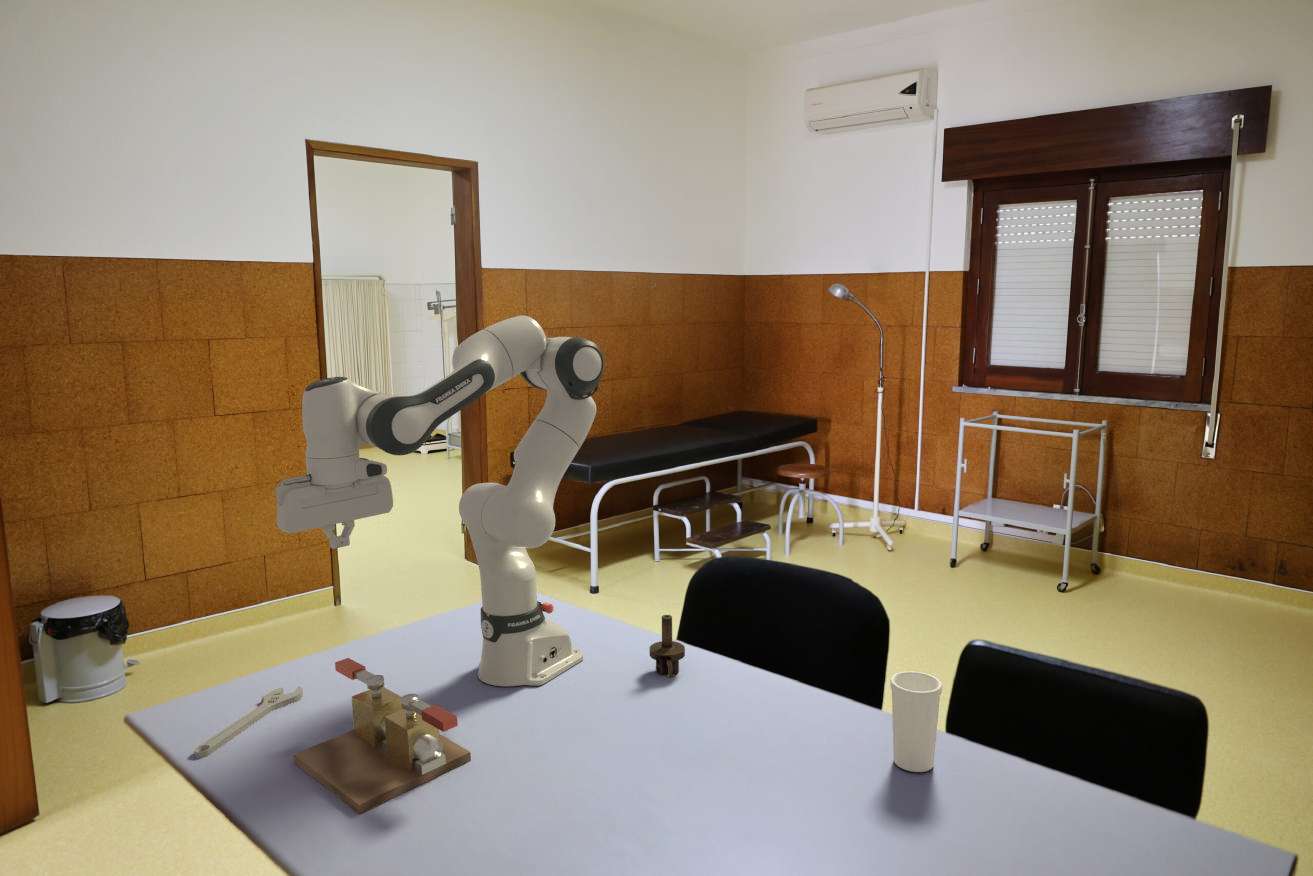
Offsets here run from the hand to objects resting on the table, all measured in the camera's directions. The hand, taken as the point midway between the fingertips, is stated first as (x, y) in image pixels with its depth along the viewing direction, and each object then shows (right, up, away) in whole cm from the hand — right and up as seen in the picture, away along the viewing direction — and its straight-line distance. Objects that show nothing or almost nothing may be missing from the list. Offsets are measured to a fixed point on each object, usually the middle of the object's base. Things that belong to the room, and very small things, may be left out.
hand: (339, 546), depth 152 cm
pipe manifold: (+14, -33, -9) cm, 37 cm away
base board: (+10, -35, -9) cm, 37 cm away
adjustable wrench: (-19, -34, +6) cm, 39 cm away
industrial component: (+59, -29, +24) cm, 70 cm away
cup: (+98, -34, -13) cm, 105 cm away
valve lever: (+4, -23, -1) cm, 23 cm away
